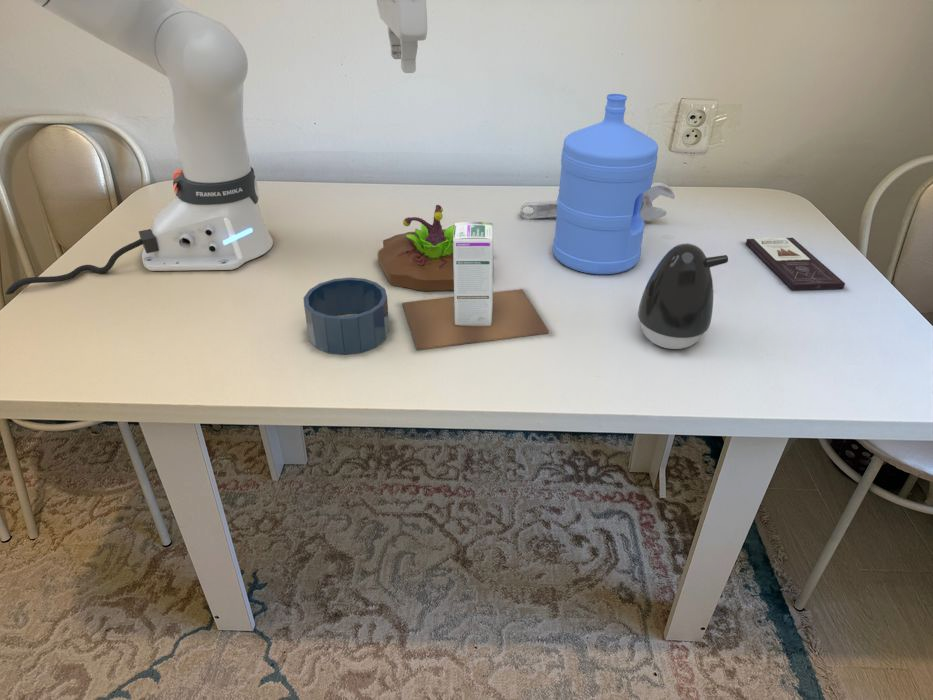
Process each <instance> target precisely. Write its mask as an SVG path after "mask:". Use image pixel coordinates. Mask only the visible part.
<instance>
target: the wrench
mask: <svg viewBox="0 0 933 700" xmlns="http://www.w3.org/2000/svg"><path fill="white" fill-rule="evenodd" d="M660 196H663V197H666V198H670V199H673V200H674V199H675V194H674V191H673V189H672V188H671V187H670V186H669V185H668V184H665V183H664V182H652V186H651V188H650V189H649V190H647V191H646V192H644V194H643V200H642V206H641V212H640V215H641V217H642V219H643V220H644V221H655V220H658V219H661V218H663V217H665V216H666V215H667V214H668V212H667V211H666V210H665V209H662V208H661V207H655V206H654V205H653V201H655V200H656V199H657V198H658V197H660ZM527 207H529V208H531V209H532V210H533V212H532V213H530V214H526V213H525V212H524V211H523V210H524V209H525V208H527ZM519 213H520V216H521V217H522V218H523V219H525V220H532V219H533V220H535V219H547V218H557V200H546V201H528V202H524V203H522V205H521V206H520V211H519Z"/></svg>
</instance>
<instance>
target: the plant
mask: <svg viewBox="0 0 933 700" xmlns="http://www.w3.org/2000/svg"><path fill="white" fill-rule="evenodd" d="M443 211H444V209H443V206H441V204H436V205H435V208H434V212H433V221H432V224H431V223H429V222H428V221H426V220H424V219H423V218H421V217H417V216H414V217H413V216H412V217H411V216H410V217H405V218H404V219H403V221H402V225H403V226H404V227H409V226H410V225H411V223H412V222H414V221H415V222H419V223H420V229H419V228H414V231H407V232H404V233H399V234H395V235H393V236H390V237H388V238H385V239H383V240H382V248H380V249H379V250H378V252H377V261H378V264H379V266H380V268H381V269H382V271H383V273H384V274H385V277H386V278H387V280H388V282H389V285H391V286H394V287H400V288H401V287H402V288H409V289H412V290H415V291H422V292H447V291H450V292H451V291H454V266H453V233H454V228H455V224H453V225H451V226H449V227H447V228H445V229H444V228H443V226H442V224H441V220H442V219H443Z"/></svg>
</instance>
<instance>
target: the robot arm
mask: <svg viewBox="0 0 933 700" xmlns="http://www.w3.org/2000/svg"><path fill="white" fill-rule="evenodd" d="M31 2H33V3H35V4H37V5H38V6H40V7H42V8H44V9H45V10H47V11H49V12H50V13H52V14H54V15H56V16H57V17H59V18H61V19H63V20H64V21H67V22H68V23H70V24H72V25H74V26H75V27H77V28H79V29H80V30H82V31H84V32H86V33H88V34H89V35H91V36H93V37H95V38H96V39H98V40H100V41H102V42H104V43H106V44H107V45H110V46H111V47H113V48H114V49H117V50H118V51H120V52H122V53H123V54H126V55H128V56H129V57H131V58H133V59H135V60H136V61H139V62H140V63H142V64H144V65H146V66H148V67H149V68H150V69H153V70H155V71H156V72H158V73H160V74H161V75H162V76H165V77H166V78H167V79H168V81H169V84H170V88H171V93H172V104H173V126H172V133H173V136H174V139H175V140H174V141H175V143H176V148H177V153H178V157H179V161H180V165H181V169H179V168H177V169H175V170H174V172H173V174H172V180H173V181H172V185H173V187H172V188H173V191H174V194H175V197H174V199H172V200H171V201H170V202H169V203H168V204H167V205H166V206H164V208H162V209H161V210H160V211H159V212H158V213H157V214H156V216H155V218H154V220H153V222H152V226H151V228H148V229H142V230H138V235H139V239H137V240H135V241H133V242H131V243H129V244H126V245H124V246H122V247H121V248H119V249H118V250H116V251H115V252H113V254H112V255H111V256H110V258H109V259H108V261H107V263H106V264H105V265H104V266H102V267H101V266H100V267H99V266H96V265H93V264H83V265H80V266H78V267H76V268H74V269H73V270H72V271H70V272H68V273H65V274H61V275H54V276H30V277H26V278H21V279H19V280H16V281H15V282H14V283H13V284H11V285H10V286H9V287H8V289H7V290H6V291H5V295H12V294H14V293H15V292H16V291H17V290H18V289H20V288H21V287H23V286H26V285H30V284H45V283H47V284H48V283H61V282H66V281H69V280H71V279H73V278H75V277H77V276H78V275H79V274H81V273H83V272H86V271H91V272H94V273H97V274H105V273H108V272H109V271H111V270H112V268H113V267H114V265H115V263H116V262H117V260H118V259H119V258H120V257H121V256H123V255H124V254H126V253H127V252H131V250H134V249H136V248H138V247H140V246H142V247H143V249H142V253H141V260H142V264H143V267H144V268H145V269H146V270H148V271H151V272H154V271H155V272H158V271H159V272H161V271H166V272H167V271H232V270H236V269H237V268H240V267H241V266H243V265H244V264H246V263H247V262H249V261H252V260H254V259H257V258H259V257H261V256H263V255H264V254H266V253H267V252H268V251H270V250H271V248H272V247H273V245H274V239H273V238H272V235H271V234H270V232H269V230H268V227H267V224H266V222H265V220H264V219H265V218H264V217H263V213H262V211H261V207H260V203H259V200H260V199H259V197H260V196H259V195H260V194H259V188H258V182H257V176H256V174H255V170H254V168H253V167H252V166H251V161H250V156H249V155H250V154H249V150H248V144H247V138H246V132H245V126H244V83H245V81H246V79H247V75H248V69H249V67H248V66H249V61H248V56H247V52H246V50H245V48H244V46H243V45H242V43H241V42H240V40H239V39H238V38H237V36H236V35H235V34H234V33H233V32H232V31H231V29H229V27H227V26H226V25H225V24H223V23H222V22H221V21H218V20H216V19H214V18H211V17H208V16H206V15H204V14H202V13H199V12H197V11H195V10H193V9H191V8H189V7H188V6H186V5H184V4H183V3H181V2H180V1H179V0H31ZM376 6H377V10H378V15H379V18H380V19H381V21H382V22H383V23H384V24H385V25H386V26H387V34H388V40H389V44H390V56H391V57H392V58H393V59H394V60H400V69H401V70H402V72H403V73H405V74H415V72H416V70H417V60H416V59H417V54H418V47H419V46H418V44H419V42H420V41H422V42H423V41H425V40H426V39H427V37H428V36H427V35H428V10H427V9H428V8H427V0H376Z"/></svg>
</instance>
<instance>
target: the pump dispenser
mask: <svg viewBox="0 0 933 700" xmlns="http://www.w3.org/2000/svg"><path fill="white" fill-rule="evenodd" d="M728 262H729V256H728V255H726V254H722V255H716V256H708V257H707V256H706V254H705V252H704V251H703V250H702V249H701V248H700V246H697V245H696V244H692V243H681V244H677V245H675V246H674V247H672V248H671V249H669V250H668V252H667V253H665V255H664V256H663V257H662V258H661V260H660V261H659V262H658V264H657V265H656V267H655V269H654V270H653V272H651V275H650V277H649V279H648V281H647V283H646V284H645V287H644V290H643V293H642V296H641V298H640V301H639V304H638V310H637V318H638V320H639V325H640V328H641V331H642V333H643V334H644V336H645V337H646V338H647V339H648V340H649V341H650V342H651V343H652V344H654V345H657V346H658V347H661V348H664V349H670V350H681V349H686V348H688V347H691V346H693V345H695V344H696V343H698V341H700V340H701V338H702V337H703V336H704V334H705V333H707V332H708V330H709V329H710V326H711V322H712V317H713V309H714V284H713V283H714V282H713V277H712V272H711V268H712V267H716V266H720V265H724V264H727V263H728Z"/></svg>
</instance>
